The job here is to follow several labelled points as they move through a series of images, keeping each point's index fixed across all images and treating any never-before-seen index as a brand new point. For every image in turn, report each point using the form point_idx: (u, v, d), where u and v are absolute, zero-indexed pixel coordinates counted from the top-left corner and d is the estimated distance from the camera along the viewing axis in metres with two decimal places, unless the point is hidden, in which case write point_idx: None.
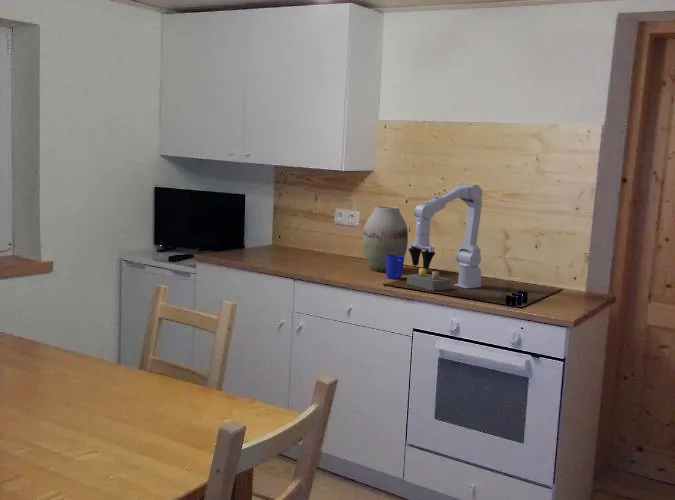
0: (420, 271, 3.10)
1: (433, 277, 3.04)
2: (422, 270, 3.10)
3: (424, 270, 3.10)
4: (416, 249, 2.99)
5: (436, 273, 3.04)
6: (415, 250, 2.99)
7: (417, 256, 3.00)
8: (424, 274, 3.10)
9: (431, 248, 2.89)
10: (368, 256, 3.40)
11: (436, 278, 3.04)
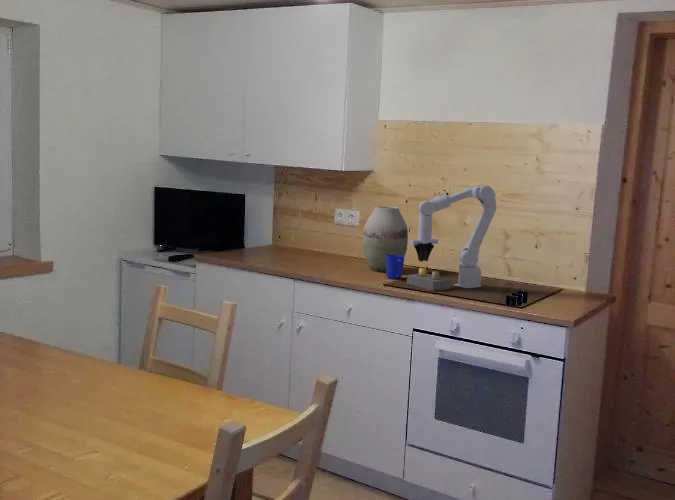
0: (420, 271, 3.10)
1: (433, 277, 3.04)
2: (422, 270, 3.10)
3: (424, 270, 3.10)
4: (426, 245, 3.11)
5: (436, 273, 3.04)
6: (425, 246, 3.11)
7: (426, 252, 3.11)
8: (424, 274, 3.10)
9: (411, 241, 3.06)
10: (368, 256, 3.40)
11: (436, 278, 3.04)
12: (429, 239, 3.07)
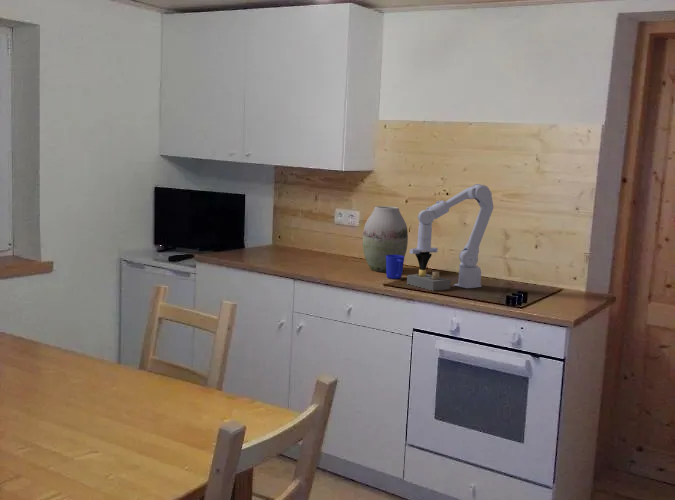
0: (420, 272, 3.10)
1: (433, 277, 3.04)
2: (422, 271, 3.10)
3: (424, 271, 3.10)
4: None
5: (436, 273, 3.04)
6: None
7: None
8: (424, 275, 3.10)
9: (410, 250, 3.06)
10: (368, 256, 3.40)
11: (436, 278, 3.04)
12: (428, 248, 3.08)
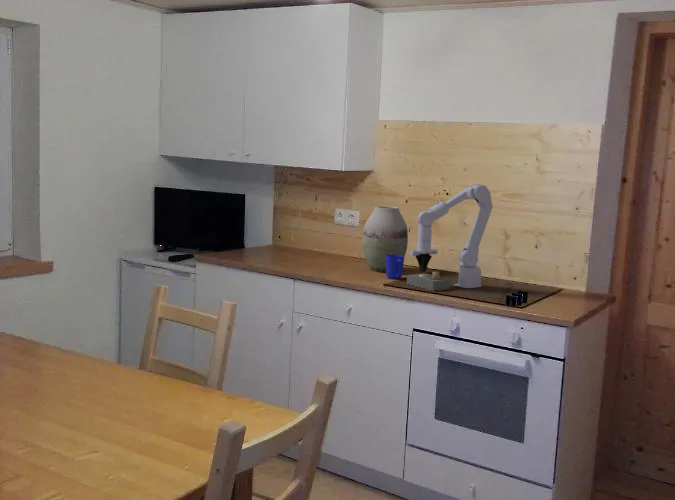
0: None
1: (433, 277, 3.04)
2: None
3: None
4: None
5: (436, 273, 3.04)
6: None
7: None
8: None
9: (410, 252, 3.06)
10: (368, 256, 3.40)
11: (436, 278, 3.04)
12: (428, 250, 3.08)
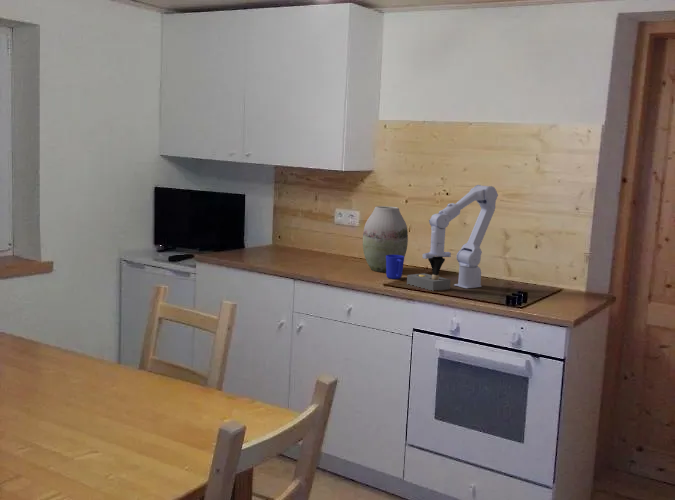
0: None
1: None
2: None
3: None
4: None
5: (436, 276, 3.04)
6: None
7: None
8: None
9: (423, 255, 3.00)
10: (368, 256, 3.40)
11: None
12: (442, 252, 3.02)
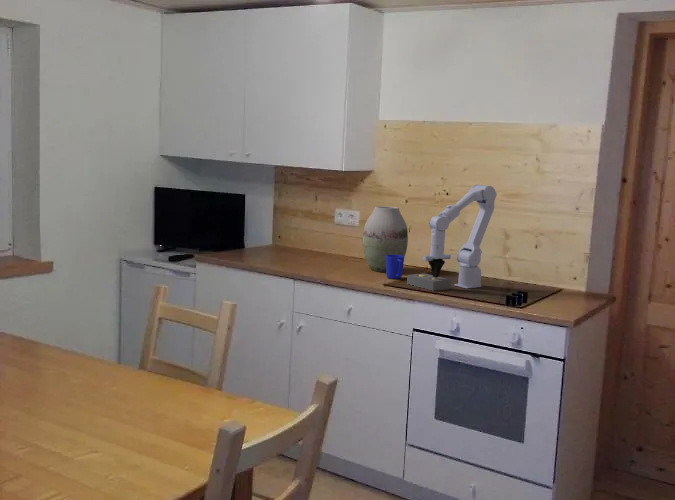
0: None
1: None
2: None
3: None
4: None
5: None
6: None
7: None
8: None
9: (423, 257, 3.00)
10: (368, 256, 3.40)
11: None
12: (442, 255, 3.02)
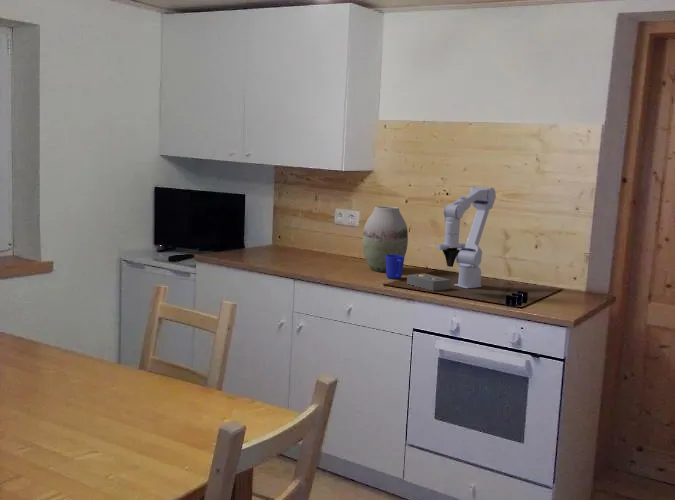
0: None
1: None
2: None
3: None
4: None
5: None
6: None
7: None
8: None
9: (438, 246, 2.94)
10: (368, 256, 3.40)
11: None
12: (456, 244, 2.96)
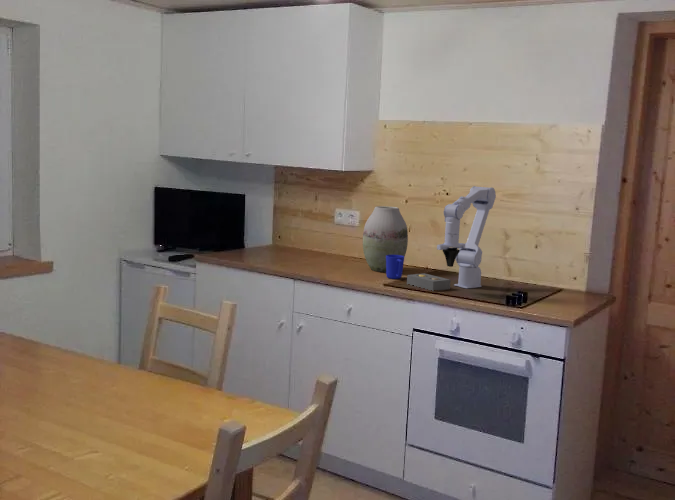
0: None
1: None
2: None
3: None
4: None
5: None
6: None
7: None
8: None
9: (438, 246, 2.94)
10: (368, 256, 3.40)
11: None
12: (456, 244, 2.96)
